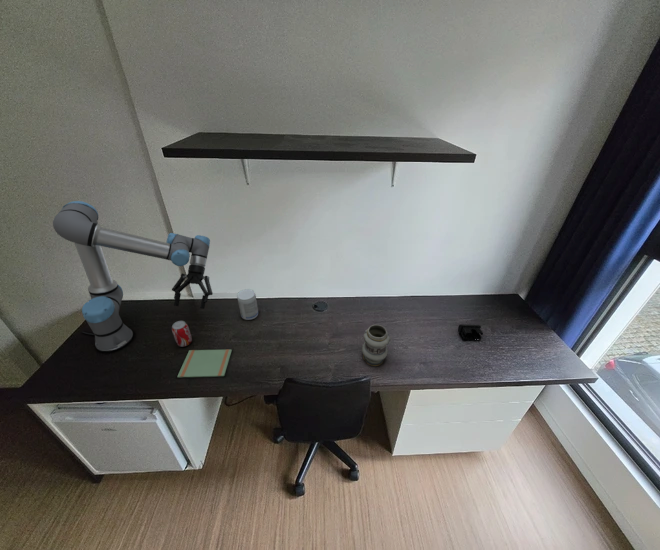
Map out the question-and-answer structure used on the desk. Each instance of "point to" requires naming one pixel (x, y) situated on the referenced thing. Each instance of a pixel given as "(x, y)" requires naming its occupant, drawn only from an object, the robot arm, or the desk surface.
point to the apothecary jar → (375, 345)
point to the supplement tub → (247, 304)
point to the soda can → (181, 333)
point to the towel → (205, 363)
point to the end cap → (469, 332)
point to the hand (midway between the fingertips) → (189, 307)
